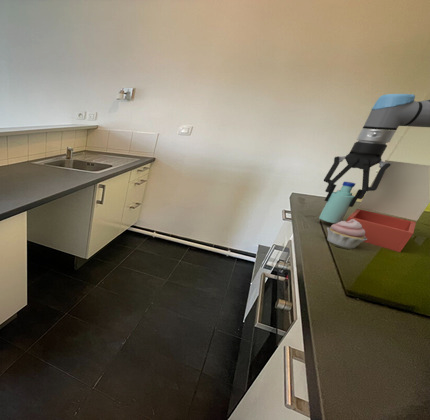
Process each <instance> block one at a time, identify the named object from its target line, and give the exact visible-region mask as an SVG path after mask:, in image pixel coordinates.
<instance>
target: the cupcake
mask: <svg viewBox="0 0 430 420" xmlns="http://www.w3.org/2000/svg"><path fill="white" fill-rule="evenodd" d="M326 230H327V238H326V240H327V241H328V242H329V243H331V244H332V246H333V247H334V248H335V247H336V248H338V249H341V250H347V251H351V249H355V248H356V247H358V246H359V245H360V244H362V243H364V242H363V241H365V240H367V238H365V236H364V235H365V230H364V229H363V228H362V225H361V224H360V223H359V222H357V221H356V220H354V219H351V220H350V221H347V220H342V221H340V222H338V223H332V224H331V226H330V227H326Z"/></svg>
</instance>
